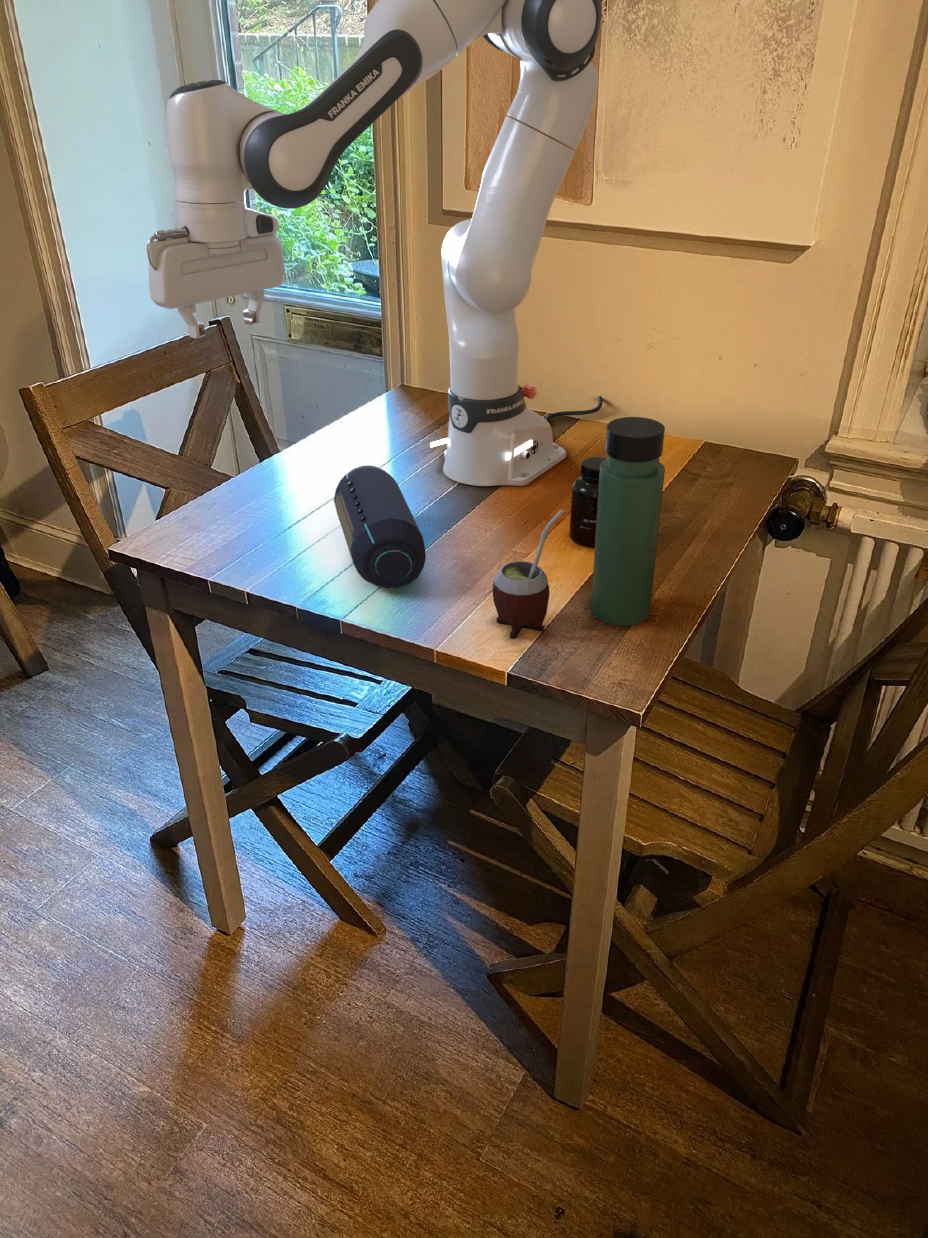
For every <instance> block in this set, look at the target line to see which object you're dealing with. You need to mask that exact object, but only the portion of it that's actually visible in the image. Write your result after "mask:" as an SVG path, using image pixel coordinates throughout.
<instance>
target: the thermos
mask: <svg viewBox="0 0 928 1238" xmlns="http://www.w3.org/2000/svg"><path fill="white" fill-rule="evenodd" d="M665 431H666V428H665V425H664V424H663V423H662V422H660V421H659V420H656V419H652V418H648V417H642V416H625V417H619V418H615V419H613V420H611V421H609V422H607V425H606V436H605V449H604V450H605V453H606V455H607V457H606V458H607V459H606V460H604V461H603V462H602V463H601V465H600V475H599V490H598V505H597V521H596V536H595V548H594V550H593V551H594V552H593V555H594V556H593V566H592V567H593V568H592V571H593V572H592V584H591V600H590V612H591V613H592V615H593V616H594V617H595V618H596V619H597V620H599V621H601V622H603V623H606V624H609V625H612V626H621V627H622V626H623V627H625V626H627V627H629V626H634V625H638V624H640V623H643V622H645V621H646V620H647V619H648V618H649V616H650V614H651V605H652V596H653V587H654V578H655V569H656V560H657V559H656V558H657V549H658V540H659V530H660V520H661V512H662V511H661V510H662V502H663V501H662V500H663V493H664V484H665V483H664V482H665V473H666V468H665V465H664V464H663V463H662V462H661V461H660V457H662V455H663V450H664V443H665V441H664V440H665Z"/></svg>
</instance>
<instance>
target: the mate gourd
mask: <svg viewBox="0 0 928 1238" xmlns="http://www.w3.org/2000/svg"><path fill="white" fill-rule="evenodd" d="M563 513H564V509H563V508H561V509H560V510H559V511H558V512H556V514H555V515H554V516H553V517H552V518H551V519H550V521H549V522H548V523H547V524H546V526H545V527H544V529H543V530H542V532H541V534H540V540H539V544H538V547H537V550H536V552H535V556H534V560H533V562H532V561H525V560H519V561H512V562H508V563H506V564H505V565H502V567H500V568H499V570H498V572H496V574H495V576H494V578H493V583H492V588H491V589H492V590H491V591H492V600H493V603H494V607H495V610H496V613H497V617H496V619H495V620H496V624H500V625H505V626H510V627H511V632H510V633H509V638H510V639H512V640H515V639H517V638H518V637H519V634H520V633H521V631H522V630H523V629H526V630H529V631H530V630H531V631H536V632H544V630H545V624H544V621H545V618H546V616H547V613H548V607H549V601H550V600H549V599H550V586H549V581H548V575H547V574H546V573H545V571H544V570H543V569H542V568H541V567H540V566H539V561H540V558H541V555H542V551H543V549H544V546H545V542H546V540H547V539H548V537H549V534H550V530H551V528H552V527H553V526H554V524H555V523H556V522H557V520H558V519H559V517H561V515H562V514H563Z"/></svg>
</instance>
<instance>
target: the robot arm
mask: <svg viewBox="0 0 928 1238" xmlns="http://www.w3.org/2000/svg"><path fill="white" fill-rule="evenodd" d="M601 5H602V4H601V0H377V1H376V3H375V4H374V6H373V7H372V8H371V10H370V11H369V12H368V14H367V15H366V18H365V22H364V30H363V41H362V44H361V47H360V49H359V51H358V53H357V55H356V57H354V59H353V61H352V62H351V63H350V64H349V65H348V67H346V68H345V69H344V70H343V71H342V72H341V73H340V74H339V75H338V76H337V77H336V78H335V79H334V80H333V81H332V82H330V83H329V84H328V85H327V86H326V87H325V88H324V89H323V90H322V91H321V92H320V93H319V94H317V96H316V97H314V98H313V99H312V101H310V102H309V103H308V104H307V105H306V106H304V107H302V108H300V109H298V110H296V111H294V112H291V113H284V112H281V111H278V110H275V109H272V108H270V107H267V106H266V105H263V104H260V102H259V103H258V102H257V101H255V100H253V99H251V98H249V97H248V96H246V95H244V94H242V93H240V92H239V91H238V90H236V89H235V88H234V87H232V86H231V85H230V84H229V83H228V82H227V81H225V80H222V79H210V80H201V81H196V82H192V83H187V84H184V85H180V86H179V87H177V88H176V89H174V90H173V91H172V92H171V94H170V96H169V97H168V99H167V102H166V115H165V116H166V135H167V136H166V137H167V145H168V154H169V162H170V165H171V168H172V170H173V174H174V177H175V191H174V200H175V208H176V215H177V224H178V227H176V228H171V229H167V230H158V231H157V230H156V231H155V232H154V234H153V235H152V236H151V237H150V238H149V239H148V241H147V243H146V255H147V259H148V260H147V261H148V285H149V286H148V288H149V296H150V299H151V300H152V302H153V303H154V304H155V305H156V306H158V307H160V308H163V309H167V310H168V309H169V310H172V309H177V313H178V314H179V316H180V317H181V318H182V319H183V321H184V322H185V324H187V325H186V327H187V332H188V333H187V334H188V336H189V337H190V338H193V339H199V338H202V337H205V336H206V331H205V329H206V328H205V327H206V326H205V323H202V322H199V321H198V320H197V318H196V317H195V315H194V314H193V313H197V309H196V308H197V307H196V305H198V304H202V303H206V302H212V301H216V300H217V301H218V300H223V299H227V298H231V297H236V296H241V295H246V297H247V298H249V300H248V303H247V304H248V305H247V309H245V310H242V316H243V322H244V324H245V325H249V326H254V325H258V324H260V323H261V320H260V319H261V318H260V311H261V308H262V306H263V303H264V300H265V290H270V289H274V288H279V287H281V286H282V285H283V282H284V280H285V278H286V271H285V269H286V268H285V260H284V259H285V258H284V251H283V245H282V242H281V240H280V238H279V236H278V235H277V234H278V232H279V228H280V224H279V223H280V222H279V219H278V217H277V216H276V215H272V214H268V213H265V212H261V211H258V210H255V209H254V208H251V207H250V208H249V207H247V203H246V201H247V200H246V191H248V190H254V191H255V193H256V194H258V195H259V197H260V198H261V199H262V200H264V201H265V202H267V203H268V204H270V205H272V206H275V207H276V208H277V207H278V208H280V209H286V210H287V209H289V210H290V209H291V210H292V209H299V208H302V207H305V206H307V205H309V204H311V203H312V202H314V201H315V200H316V199H317V198H318V197H319V196H320V195H321V194H322V192H323V191H324V189H325V188H326V186H327V184H328V182H329V180H330V178H331V176H332V173H333V172H334V171H333V170H334V168H335V166H336V164H337V163H338V161H339V159H340V157H341V156H342V155H343V153H344V152H345V151H346V150H347V149H348V148H349V147H350V146H351V145H352V144H353V143H354V142H355V141H356V140H357V139H358V138H359V137H360V136H361V135H362V134H363V133H364V132H365V131H366V130H367V129H368V128H369V127H370V126H371V125H372V124H374V122H376V121H377V120H378V119H379V118H380V117H381V116H382V115H383V114H385V112H386V111H387V110H388V109H390V107H391V106H392V105H393V104H395V103H396V102H397V100H399V99H401V98H402V97H404V96H405V95H406V94H408V93H410V92H411V91H413V90H414V89H415V88H417V87H419V86H420V85H421V84H423V83H425V82H427V81H428V80H429V79H431V78H432V77H433V76H435V75H436V74H438V73H439V72H440V71H442V70H443V69H444V68H445V67H447V66H448V65H449V64H451V62H453V61H454V60H455V59H456V58H457V57H459V55H461V54H462V53H463V52H464V51H465V50H466V49H468V47H469V46H470V45H471V44H472V43H473V42H474V41H477V40H478V39H479V38H481V37H483V39H484V40H485V41H486V42H487V43H488V44H489V45H491V47H493V48H495V49H496V50H498V51H501V52H504V53H507V54H508V55H510V56H512V57H514V58H516V59H518V60H519V61H520V78H519V83H518V87H517V92H516V94H515V96H514V99H513V100H512V101H511V104H510V107H509V109H508V110H507V113H506V116H505V118H504V120H503V124H502V125H501V128H500V130H499V132H498V135H497V137H496V139H495V142H494V144H493V146H492V149H491V151H490V154H489V156H488V159H487V161H486V163H485V165H484V169H483V170H482V176H481V183H480V188H479V191H478V195H477V199H476V202H475V206H474V210H473V213H472V217H471V218H468V219H464V220H462V221H459V222H458V223H456V224H455V225H453V226H452V227H451V228H450V229H449V231H448V232H447V233H446V235H445V237H444V239H443V242H442V246H441V269H442V282H443V294H444V305H445V306H444V307H445V314H446V324H447V331H448V342H449V343H448V346H449V374H450V375H449V376H450V377H449V378H450V380H449V381H450V386H449V388H448V390H447V391H448V392H447V407H448V408H447V409H448V413H449V418H448V429H447V437H446V438H445V437H444V438H441V439H439V440H435V441H431V442H430V443H429V447H430V448H434V447H438V446H441V445H444V444H445V445H446V449H445V450H444V453H443V455H444V456H443V457H444V462H443V467H442V473H443V474H444V475H445V477H447V478H448V479H450V480H451V481H454V482H457V483H460V484H463V485H469V486H475V487H476V486H478V487H494V486H516V487H523V486H527V485H528V484H530V483H531V482H533V481H534V480H536V479H537V478H538V477H540V476H541V475H543V474H544V473H545V472H547V471H549V470H550V469H551V468H554V467H555V466H556V465H557V464H559V463H560V462H562V461H563V460H565V459H566V458H567V451H566V450H565V448H563V447H562V446H561V445H559V444H558V443H555V442H554V437H553V429H552V426H551V424H550V423H549V421H550V420H551V419H553V418H557V417H564V416H565V417H567V416H583V415H586V416H587V415H592V414H595V413H597V412H599V411H600V410H601V409H602V407H603V396H602V395H601V396H602V397H601V396H599V397H598V396H597V406H596V407H594V408H590V409H585V410H584V409H583V410H565V411H564V410H563V411H556V412H553V413H550V414H548V415H546V416H545V418H544V417H543V416H541V415H540V414H538V413H537V412H535V411H534V410H533V409H531V408H530V407H529V406H527V403H526V401H525V398H527V399H529V400H534V399H535V398H536V395H538V393H537V392H538V391H537V390H538V389H537V388H536V387H535V386H531V385H529V384H525V385H523V386H520V384H519V381H520V380H519V377H520V376H519V375H520V337H519V333H518V327H517V319H516V312H515V309H516V308H517V307H518V306H520V305H521V304H522V303H523V301H524V300H525V298H526V297H527V296H528V293H529V290H530V287H531V283H532V281H531V279H532V271H533V267H534V264H535V261H536V258H537V255H538V252H539V249H540V246H541V242H542V238H543V234H544V233H545V232H544V231H545V227H546V224H547V220H548V218H549V214H550V211H551V210H552V209H551V208H552V206H553V203H554V201H555V198H556V196H557V194H558V191H559V189H560V187H561V186H562V183H563V180H564V178H565V176H566V174H567V172H568V169H569V167H570V165H571V163H572V160H573V159H574V157H575V154H576V152H577V151H578V150H577V149H578V147H579V145H580V143H581V140H582V138H583V136H584V133H585V130H586V128H587V125H588V121H589V120H590V119H589V118H590V116H591V113H592V109H593V106H594V102H595V99H596V95H597V92H598V87H599V76H598V72H597V70H596V68H595V66H594V64H593V63H592V60H593V59H594V56H595V52H596V43H597V41H598V38H599V34H600V30H601V29H600V28H601V22H602V6H601ZM276 233H277V234H276Z"/></svg>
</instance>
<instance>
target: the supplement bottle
mask: <svg viewBox="0 0 928 1238" xmlns="http://www.w3.org/2000/svg"><path fill="white" fill-rule="evenodd" d="M606 459H607V457H601V456H591V457H587V458H584V459H583V460H582V461H581V464H580V471H579V475H580V476H579V477H577V478H576V479H575V480H574V482H573V483H572V488H571V502H570V503H571V504H570V515H569V516H570V517H569V538H570V540H571V541H572V542H573V543H574V544H576V545H578V546H579V547H583V548H587V549H595V536H596V521H597V505H598V490H599V475H600V465H601V463H602V462H603V461H604V460H606Z"/></svg>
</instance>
